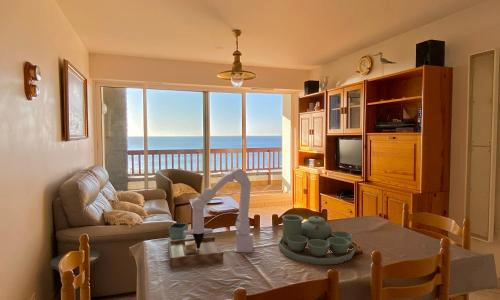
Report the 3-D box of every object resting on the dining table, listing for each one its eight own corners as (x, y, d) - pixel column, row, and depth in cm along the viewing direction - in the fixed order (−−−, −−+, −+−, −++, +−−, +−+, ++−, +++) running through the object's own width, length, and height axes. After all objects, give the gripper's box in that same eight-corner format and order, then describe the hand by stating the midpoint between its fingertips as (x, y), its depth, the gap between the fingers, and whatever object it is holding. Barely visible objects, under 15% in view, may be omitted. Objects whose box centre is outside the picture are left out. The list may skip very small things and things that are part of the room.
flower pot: (182, 243, 174) (182, 228, 174) (168, 242, 176) (167, 227, 175) (188, 238, 183) (188, 223, 182) (174, 237, 185) (174, 222, 184)
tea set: (294, 269, 143) (294, 234, 142) (270, 239, 182) (271, 212, 181) (371, 262, 152) (372, 229, 151) (332, 235, 191) (333, 208, 190)
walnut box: (214, 244, 174) (214, 236, 174) (223, 261, 151) (223, 252, 151) (168, 248, 167) (168, 240, 167) (170, 267, 144) (170, 258, 144)
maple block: (194, 248, 161) (194, 240, 161) (195, 251, 156) (195, 244, 156) (184, 249, 160) (184, 241, 160) (185, 252, 155) (185, 245, 155)
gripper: (184, 225, 153) (184, 252, 153) (213, 222, 157) (213, 249, 158) (183, 221, 159) (183, 247, 160) (211, 219, 163) (211, 244, 164)
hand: (198, 247), depth 159 cm, fingers closed
